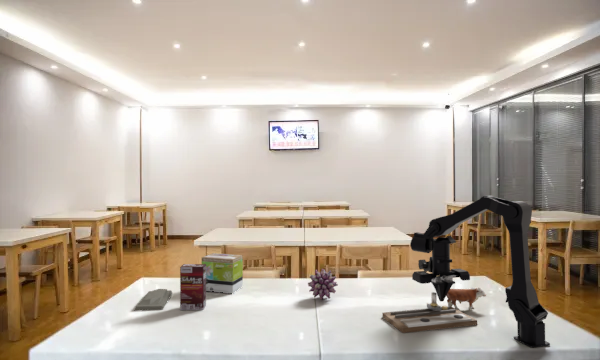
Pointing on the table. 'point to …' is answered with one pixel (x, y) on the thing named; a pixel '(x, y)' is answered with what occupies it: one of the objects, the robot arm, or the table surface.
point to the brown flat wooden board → (428, 319)
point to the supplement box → (192, 286)
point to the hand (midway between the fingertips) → (441, 301)
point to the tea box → (223, 272)
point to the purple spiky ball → (322, 284)
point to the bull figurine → (464, 296)
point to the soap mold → (154, 300)
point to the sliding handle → (434, 303)
